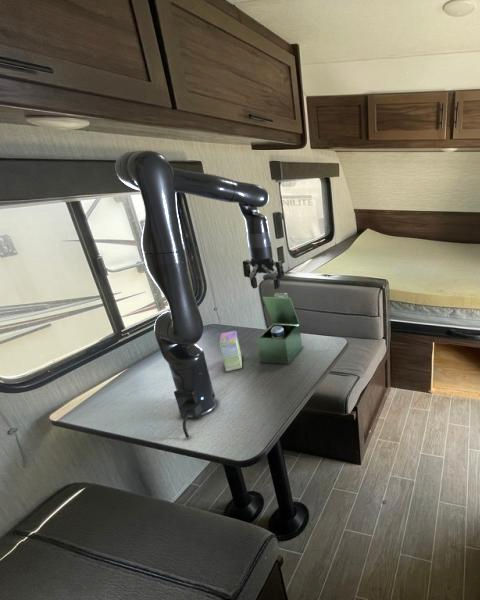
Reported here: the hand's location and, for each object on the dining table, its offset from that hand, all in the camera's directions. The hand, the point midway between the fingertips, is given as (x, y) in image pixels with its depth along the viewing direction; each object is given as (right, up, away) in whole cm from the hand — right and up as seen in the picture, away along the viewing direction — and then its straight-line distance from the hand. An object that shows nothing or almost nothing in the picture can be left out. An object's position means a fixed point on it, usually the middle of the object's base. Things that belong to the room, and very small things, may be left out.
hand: (266, 288), depth 119 cm
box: (-16, -30, +9) cm, 35 cm away
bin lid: (+1, -9, +12) cm, 15 cm away
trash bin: (+1, -27, +15) cm, 31 cm away
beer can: (0, -27, +14) cm, 30 cm away
